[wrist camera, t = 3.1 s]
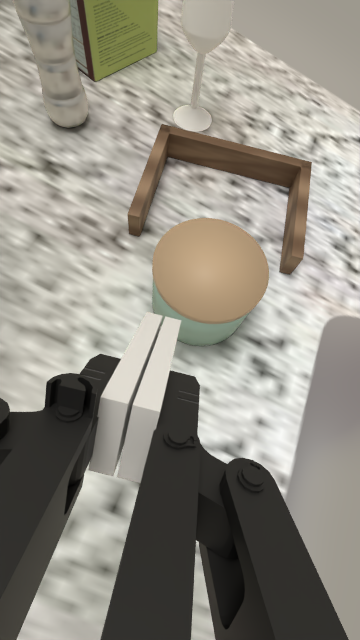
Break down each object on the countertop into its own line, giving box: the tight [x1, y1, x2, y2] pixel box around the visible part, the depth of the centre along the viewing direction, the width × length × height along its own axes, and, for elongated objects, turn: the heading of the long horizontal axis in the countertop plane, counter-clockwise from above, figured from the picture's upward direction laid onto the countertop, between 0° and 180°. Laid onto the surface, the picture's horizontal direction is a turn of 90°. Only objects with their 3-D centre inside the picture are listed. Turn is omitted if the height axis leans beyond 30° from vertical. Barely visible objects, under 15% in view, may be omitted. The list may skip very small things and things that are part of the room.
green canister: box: [152, 218, 269, 346], centre depth 36 cm, size 12×12×9 cm
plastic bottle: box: [13, 0, 88, 128], centre depth 41 cm, size 6×7×20 cm
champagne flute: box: [173, 0, 234, 132], centre depth 42 cm, size 7×7×24 cm
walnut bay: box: [128, 124, 312, 275], centre depth 45 cm, size 18×23×4 cm
